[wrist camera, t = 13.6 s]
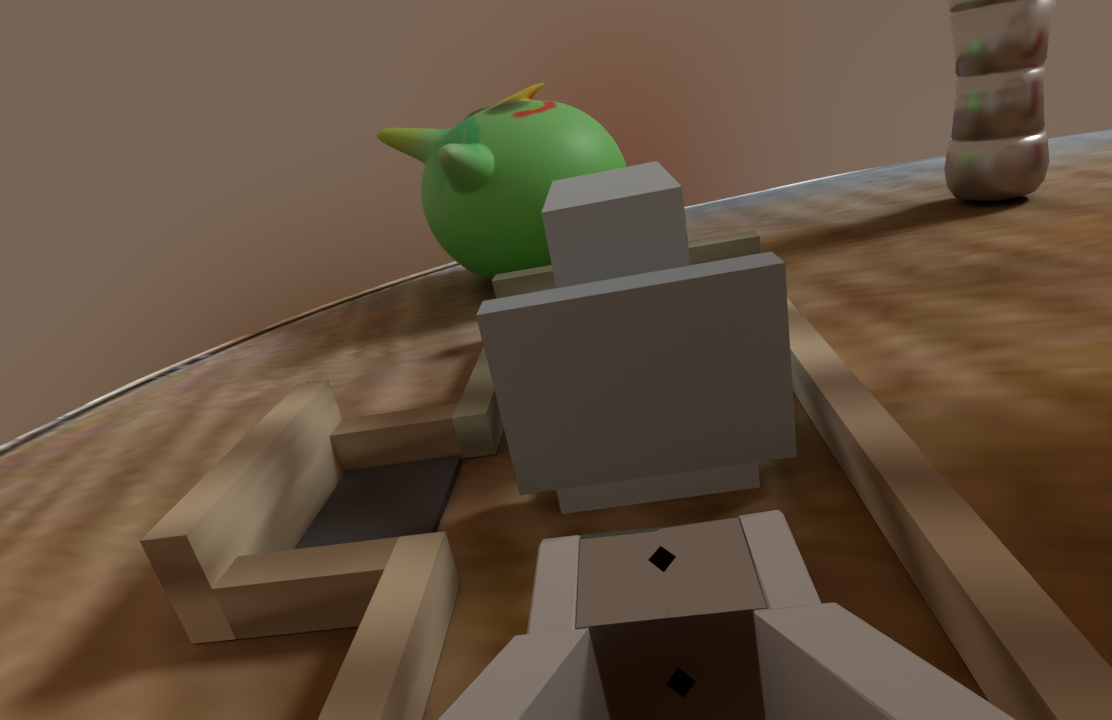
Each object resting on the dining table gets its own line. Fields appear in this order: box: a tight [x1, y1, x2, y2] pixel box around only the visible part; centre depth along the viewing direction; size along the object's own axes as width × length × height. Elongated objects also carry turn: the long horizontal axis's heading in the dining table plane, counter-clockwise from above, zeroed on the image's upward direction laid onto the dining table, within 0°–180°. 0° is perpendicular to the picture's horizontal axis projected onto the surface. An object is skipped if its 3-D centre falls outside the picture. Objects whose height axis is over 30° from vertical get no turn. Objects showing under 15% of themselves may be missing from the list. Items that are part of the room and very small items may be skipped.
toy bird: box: [377, 83, 626, 280], centre depth 53 cm, size 18×17×15 cm
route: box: [140, 231, 1112, 720], centre depth 26 cm, size 36×23×4 cm, turn 177°
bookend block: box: [476, 161, 797, 514], centre depth 30 cm, size 18×10×10 cm, turn 178°
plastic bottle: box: [944, 0, 1057, 202], centre depth 48 cm, size 6×7×20 cm
